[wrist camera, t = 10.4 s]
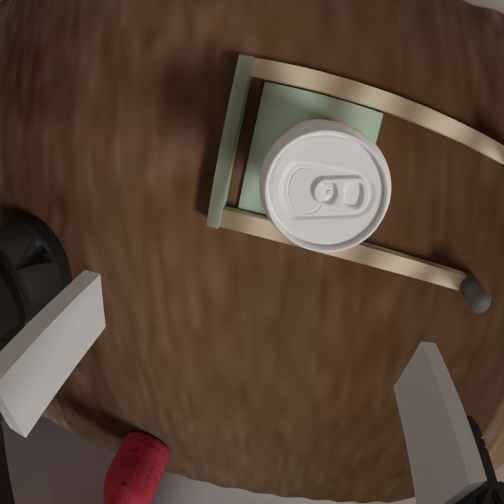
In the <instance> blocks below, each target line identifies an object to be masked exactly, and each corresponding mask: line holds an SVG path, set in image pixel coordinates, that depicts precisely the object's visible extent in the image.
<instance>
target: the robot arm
mask: <svg viewBox="0 0 504 504" xmlns="http://www.w3.org/2000/svg"><path fill="white" fill-rule="evenodd" d="M29 321H30V322H29ZM26 322H29V323H28V324H27V325H25V323H26ZM105 327H106V325H105V317H104V309H103V299H102V289H101V277H100V274H98V273H94V272H91V271H87V270H85V271H83V272H82V273H81V274H80V275H79V276H78V277H77V278H76V279H74V280H73V281H72V278H71V271H70V267H69V263H68V260H67V257H66V255H65V252H64V250H63V248H62V246H61V244H60V243H59V241H58V239H57V238H56V236H55V235H54V234H53V232H52V231H51V230H50V229H49V228H48V227H47V226H46V225H45V224H44V223H43V222H42V221H40V220H39V219H37V218H36V217H34V216H31V215H28V214H20V215H17V216H15V217H13V218H11V219H9V220H7V221H6V222H4V223H3V224H2V225H1V226H0V504H15V501H14V497H13V493H12V487H11V483H10V478H9V472H8V466H7V460H6V453H5V446H4V437H3V429H2V425H1V422H2V420H3V419H5V421H6V422H7V424H8V425H9V427H10V428H11V429H13V430H15V431H16V432H17V433H19V434H21V435H22V436H24V437H27V435H28V434H29V432H30V431H31V429H32V428H33V426H34V425H35V423H36V422H37V420H38V418H39V417H40V416H41V415H42V413H43V412H44V410H45V409H46V407H47V406H48V404H49V403H50V401H51V400H52V399H53V397H54V396H55V394H56V393H57V392H58V390H59V389H60V387H61V386H62V385H63V383H64V382H65V380H66V379H67V378H68V376H69V375H70V373H71V372H72V371H73V369H74V368H75V367H76V365H77V364H78V363H79V361H80V360H81V359H82V357H83V356H84V355H85V353H86V352H87V351H88V349H89V348H90V347H91V345H92V344H93V343H94V341H95V340H96V339H97V337H98V336H99V335H100V334H101V332H102V331H103V330H104V328H105ZM394 391H395V396H396V400H397V404H398V408H399V412H400V417H401V421H402V426H403V431H404V435H405V440H406V445H407V450H408V455H409V461H410V466H411V472H412V478H413V484H414V490H415V497H416V504H504V482H501V481H500V482H498V481H497V479H496V476H495V472H494V469H493V466H492V463H491V460H490V457H489V454H488V451H487V448H485V447H486V445H485V442H484V439H482V438H483V436H482V433H481V431H480V428H479V426H478V424H477V423H476V422H475V420H474V419H473V418H472V416H466V414H465V412H464V409H463V406H462V404H461V401H460V399H459V396H458V394H457V391H456V389H455V386H454V384H453V381H452V379H451V377H450V374H449V372H448V370H447V367H446V365H445V363H444V361H443V358H442V356H441V354H440V352H439V350H438V347H437V345H436V343H428V342H420V344H419V346H418V348H417V349H416V351H415V353H414V355H413V356H412V358H411V360H410V361H409V363H408V365H407V366H406V368H405V370H404V371H403V373H402V375H401V376H400V378H399V379H398V381H397V383H396V384H395V386H394Z"/></svg>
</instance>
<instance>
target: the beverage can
mask: <svg viewBox="0 0 504 504" xmlns="http://www.w3.org/2000/svg"><path fill="white" fill-rule="evenodd" d="M259 192H260V198H261V202H262V205H263V208H264V211H265V213H266V215H267V217H268V218H269V220H270V221H271V223H272V224H273V226H274V227H275V228H276V229H277V230H278V231H279V232H280V233H281V234H282V235H283V236H285V237H286V238H287V239H289V240H290V241H292V242H293V243H295V244H297V245H299V246H301V247H303V248H306V249H309V250H312V251H318V252H337V251H342V250H346V249H349V248H351V247H354V246H356V245H358V244H359V243H361V242H362V241H364V240H365V239H367V238H368V237H369V236H370V235H371V234H372V233H373V232H374V231H375V230H376V228H377V227H378V226H379V224H380V222H381V221H382V219H383V217H384V215H385V213H386V211H387V208H388V205H389V201H390V196H391V177H390V172H389V168H388V165H387V163H386V160H385V158H384V156H383V154H382V153H381V151H380V150H379V148H378V147H377V146H376V144H375V143H374V142H373V141H372V140H371V139H370V138H369V137H368V136H366V135H365V134H364V133H362V132H361V131H359V130H358V129H356V128H354V127H352V126H349V125H347V124H343V123H340V122H335V121H330V120H324V119H312V120H307V121H304V122H301V123H299V124H297V125H295V126H293V127H292V128H291V129H289V130H288V131H287V132H286V133H285V134H284V135H282V136H281V137H280V138H279V139H278V140H277V141H276V142H275V143H274V145H273V146H272V147H271V149H270V150H269V152H268V153H267V155H266V157H265V159H264V162H263V164H262V168H261V172H260V178H259Z"/></svg>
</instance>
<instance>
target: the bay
mask: <svg viewBox="0 0 504 504" xmlns="http://www.w3.org/2000/svg"><path fill="white" fill-rule="evenodd" d="M252 78H258V79H263V80H268V81H273V82H278V83H283V84H287V85H292V86H296V87H300V88H305V89H309V90H313V91H317V92H320V93H324V94H328V95H331V96H335V97H339V98H342V99H345V100H349V101H352V102H355V103H359V104H362V105H365V106H368V107H371V108H374V109H377V110H380V111H383V112H386V113H388V114H391V115H394V116H397V117H399V118H402V119H405V120H407V121H410V122H413V123H415V124H418V125H420V126H423V127H425V128H427V129H430V130H432V131H435V132H437V133H439V134H441V135H444V136H446V137H448V138H450V139H453V140H455V141H457V142H459V143H461V144H463V145H465V146H468V147H470V148H472V149H474V150H476V151H478V152H480V153H482V154H484V155H485V156H487V157H489V158H491V159H493V160H495V161H497V162H499V163H500V164H502V165H503V166H504V145H502V144H500V143H498V142H497V141H495V140H493V139H491V138H489V137H488V136H486V135H484V134H482V133H480V132H478V131H476V130H474V129H472V128H470V127H468V126H466V125H464V124H462V123H460V122H458V121H456V120H454V119H452V118H450V117H448V116H445V115H443V114H441V113H439V112H437V111H434V110H432V109H430V108H427V107H425V106H423V105H420V104H418V103H415V102H413V101H410V100H408V99H405V98H402V97H400V96H397V95H394V94H392V93H389V92H386V91H383V90H380V89H378V88H375V87H372V86H369V85H366V84H362V83H359V82H356V81H353V80H349V79H346V78H343V77H339V76H336V75H332V74H328V73H325V72H321V71H317V70H313V69H309V68H304V67H300V66H296V65H291V64H286V63H282V62H277V61H271V60H266V59H260V58H254V57H253V56H248V55H242V54H239V58H238V62H237V66H236V71H235V75H234V80H233V85H232V89H231V94H230V99H229V103H228V108H227V113H226V118H225V123H224V128H223V133H222V138H221V143H220V149H219V154H218V159H217V165H216V170H215V176H214V181H213V187H212V193H211V199H210V205H209V211H208V217H207V223H206V226H209V227H213V228H217V229H218V228H219V227H223V228H227V229H231V230H235V231H239V232H243V233H247V234H251V235H255V236H259V237H263V238H267V239H270V240H274V241H278V242H282V243H286V244H290V245H294V246H298V247H301V246H299V245H297V244H295V243H293V242H292V241H290V240H289V239H287V238H286V237H285V236H283V235H282V234H281V233H280V232H279V231H278V230H277V229H276V228H275V227H274V226H273V224H272V223H271V221H270V220H269V218H268V217H267V216H265V215H266V213H265V211H264V208H263V205H262V202H261V198H260V192H259V178H260V172H261V168H262V164H263V162H264V159H265V157H266V155H267V153H268V152H269V150H270V149H271V147H272V146H273V145H274V143H275V142H276V141H277V140H278V139H279V138H280V137H281V136H282V135H284V134H285V133H286V132H287V131H288V130H289V129H291V128H292V127H293V126H295V125H297V124H299V123H301V122H304V121H307V120H312V119H324V120H330V121H335V122H340V123H343V124H347V125H349V126H352V127H354V128H356V129H358V130H359V131H361V132H362V133H364V134H365V135H366V136H368V137H369V138H370V139H371V140H372V141H373V142H374V143H375V144H376V140H377V136H378V133H379V129H380V125H381V121H382V117H383V113H380V112H377V111H374V110H371V109H368V108H365V107H362V106H359V105H356V104H352V103H349V102H346V101H342V100H339V99H335V98H332V97H328V96H325V95H321V94H317V93H313V92H309V91H305V90H301V89H297V88H292V87H288V86H283V85H279V84H274V83H269V82H265V84H264V88H263V93H262V97H261V102H260V106H259V111H258V115H257V120H256V125H255V129H254V134H253V138H252V143H251V148H250V153H249V157H248V162H247V167H246V172H245V176H244V181H243V186H242V191H241V196H240V201H239V206H238V208H240V209H236V208H232V207H228V206H226V201H227V195H228V190H229V185H230V180H231V175H232V170H233V165H234V160H235V155H236V150H237V145H238V140H239V135H240V130H241V125H242V121H243V116H244V111H245V106H246V102H247V97H248V93H249V88H250V84H251V79H252ZM241 209H245V210H249V211H253V212H257V213H261V214H265V215H261V214H257V213H253V212H249V211H245V210H241ZM301 248H303V247H301ZM305 249H306V248H305ZM317 252H318V251H317ZM320 253H324V254H328V255H332V256H336V257H339V258H343V259H347V260H351V261H354V262H358V263H362V264H365V265H369V266H373V267H376V268H380V269H384V270H387V271H391V272H395V273H398V274H402V275H406V276H409V277H413V278H417V279H420V280H424V281H427V282H431V283H434V284H438V285H442V286H445V287H449V288H452V289H456V290H459V291H460V292H461V293H462V295H463V296H464V297H465V299H466V300H467V302H468V303H469V305H470V306H471V308H472V309H473V311H474V312H475V313H482V312H484V311H486V310H487V309H488V308H489V306H490V304H491V296H490V295H489V293H488V292H487V291H486V290H485V288H484V287H483V286H482V285H481V284H480V282H479V281H478V280H477V278H476V277H475V276H474V275H473V274H472V273H471V272H470V271H464V272H462V271H459V270H456V269H453V268H449V267H446V266H443V265H440V264H437V263H433V262H430V261H427V260H423V259H420V258H417V257H414V256H410V255H407V254H403V253H400V252H397V251H393V250H390V249H386V248H383V247H380V246H376V245H373V244H369V243H366V242H361V243H359V244H358V245H356V246H354V247H351V248H349V249H346V250H342V251H337V252H320Z"/></svg>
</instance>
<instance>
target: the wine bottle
mask: <svg viewBox="0 0 504 504" xmlns="http://www.w3.org/2000/svg"><path fill="white" fill-rule="evenodd" d="M168 456H169V451H168V449H167V447H166V446H165V445H164V444H163V443H162V442H161V441H159V440H158V439H156V438H155V437H153V436H150V435H148V434H145V433H142V432H131V433H129V434H128V435H127V436H126V437H125V439H124V440H123V442H122V444H121V446H120V447H119V449H118V451H117V453H116V455H115V457H114V459H113V461H112V463H111V465H110V467H109V469H108V471H107V473H106V476H105V481H104V489H103V499H104V504H148V503H149V502H150V500H151V499H152V497H153V496H154V494H155V491H156V489H157V487H158V484H159V481H160V479H161V476H162V473H163V471H164V468H165V465H166V462H167V459H168Z"/></svg>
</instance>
